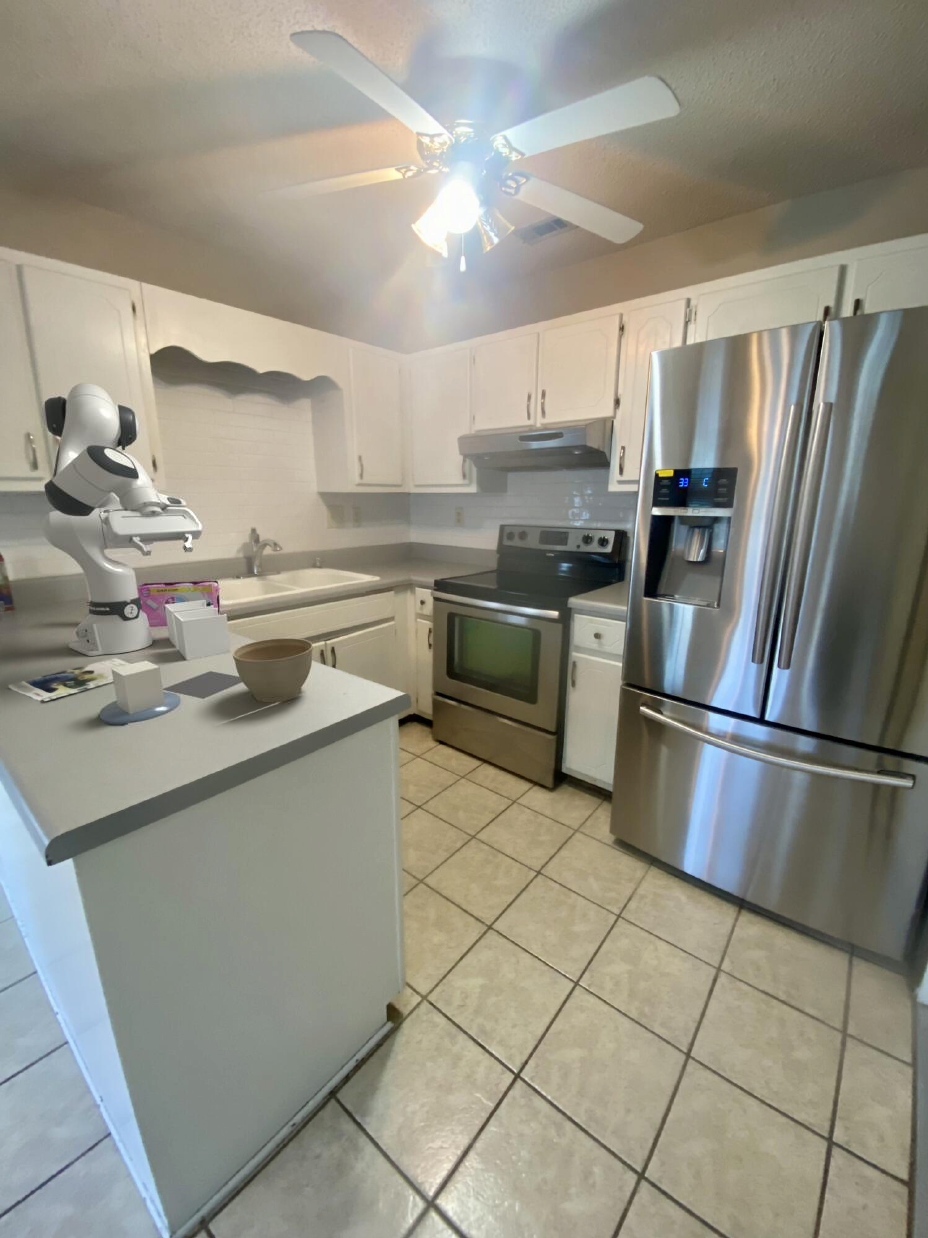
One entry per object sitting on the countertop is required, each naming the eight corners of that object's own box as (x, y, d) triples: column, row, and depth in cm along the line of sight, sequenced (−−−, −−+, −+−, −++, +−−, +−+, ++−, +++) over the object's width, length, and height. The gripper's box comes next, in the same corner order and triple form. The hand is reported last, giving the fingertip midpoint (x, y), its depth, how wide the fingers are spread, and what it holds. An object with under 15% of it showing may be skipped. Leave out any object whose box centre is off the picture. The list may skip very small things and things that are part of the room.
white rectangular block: (117, 705, 103) (111, 668, 101) (151, 696, 108) (146, 660, 106) (130, 714, 100) (123, 675, 98) (164, 703, 104) (159, 667, 103)
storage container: (169, 640, 154) (164, 604, 151) (209, 633, 160) (204, 599, 158) (187, 661, 135) (181, 620, 132) (231, 653, 141) (226, 614, 139)
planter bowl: (266, 679, 121) (262, 635, 118) (328, 685, 118) (325, 640, 115) (221, 706, 106) (215, 656, 103) (290, 714, 102) (286, 662, 100)
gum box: (225, 617, 180) (221, 579, 177) (221, 623, 173) (216, 583, 170) (150, 621, 174) (144, 582, 171) (142, 627, 167) (135, 586, 164)
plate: (84, 717, 101) (83, 712, 100) (150, 692, 113) (150, 688, 113) (131, 730, 95) (130, 725, 95) (196, 702, 108) (195, 698, 107)
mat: (161, 691, 114) (161, 689, 114) (210, 672, 125) (210, 671, 125) (203, 700, 109) (203, 698, 109) (250, 680, 120) (250, 678, 120)
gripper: (97, 500, 114) (122, 546, 111) (190, 499, 130) (214, 540, 127) (93, 519, 118) (117, 565, 114) (184, 516, 134) (207, 556, 130)
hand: (169, 552), depth 121 cm, fingers open, 8 cm apart
